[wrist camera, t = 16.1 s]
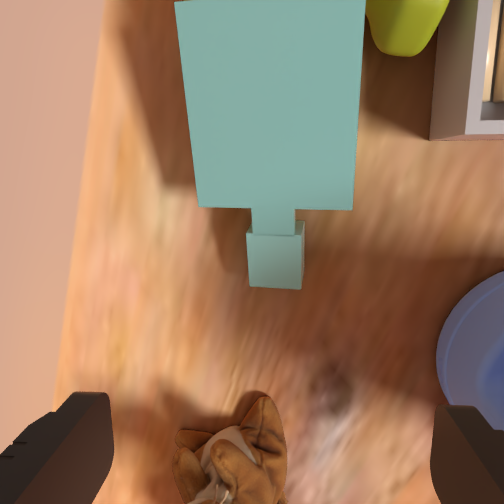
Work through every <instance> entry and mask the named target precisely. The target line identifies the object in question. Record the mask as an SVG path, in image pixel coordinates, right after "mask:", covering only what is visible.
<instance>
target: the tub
mask: <svg viewBox="0 0 504 504" xmlns="http://www.w3.org/2000/svg"><path fill="white" fill-rule="evenodd" d="M447 140H504V0H449V3H448V6H447V8H446V10H445V12H444V14H443V16H442V18H441V20H440V22H439V25H438V37H437V49H436V61H435V74H434V86H433V98H432V110H431V122H430V134H429V141H447Z"/></svg>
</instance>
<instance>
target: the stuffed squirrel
mask: <svg viewBox="0 0 504 504" xmlns="http://www.w3.org/2000/svg"><path fill="white" fill-rule="evenodd" d="M175 442H176V444H177V446H178V447H179V449H178V450H177V451H176V453H175V455H174V458H173V463H172V467H173V474H174V478H175V481H176V484H177V486H178V489H179V491H180V494H181V496H182V499H183V501H184V503H185V504H287V502H288V501H287V500H286V498H285V493H284V492H283V488H284V485H285V480H286V473H287V448H286V442H285V437H284V433H283V427H282V423H281V419H280V416H279V413H278V410H277V408H276V406H275V404H274V402H273V400H272V399H271V398H270V397H269V396H266V397H259V398H258V400H257V401H256V402H255V403H254V405H253V406H252V407H251V409H250V410H249V412H248V413H247V415H246V416H245V418H244V419H243V421H242V423H241V425H240V426H230V427H227V428H225V429H223V430H221V431H220V432H218V433H217V434H215V435H213V434H211V433H207V432H202V431H195V430H184V429H181V430H180V431H179V432H178V434H177V435H176V437H175Z"/></svg>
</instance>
